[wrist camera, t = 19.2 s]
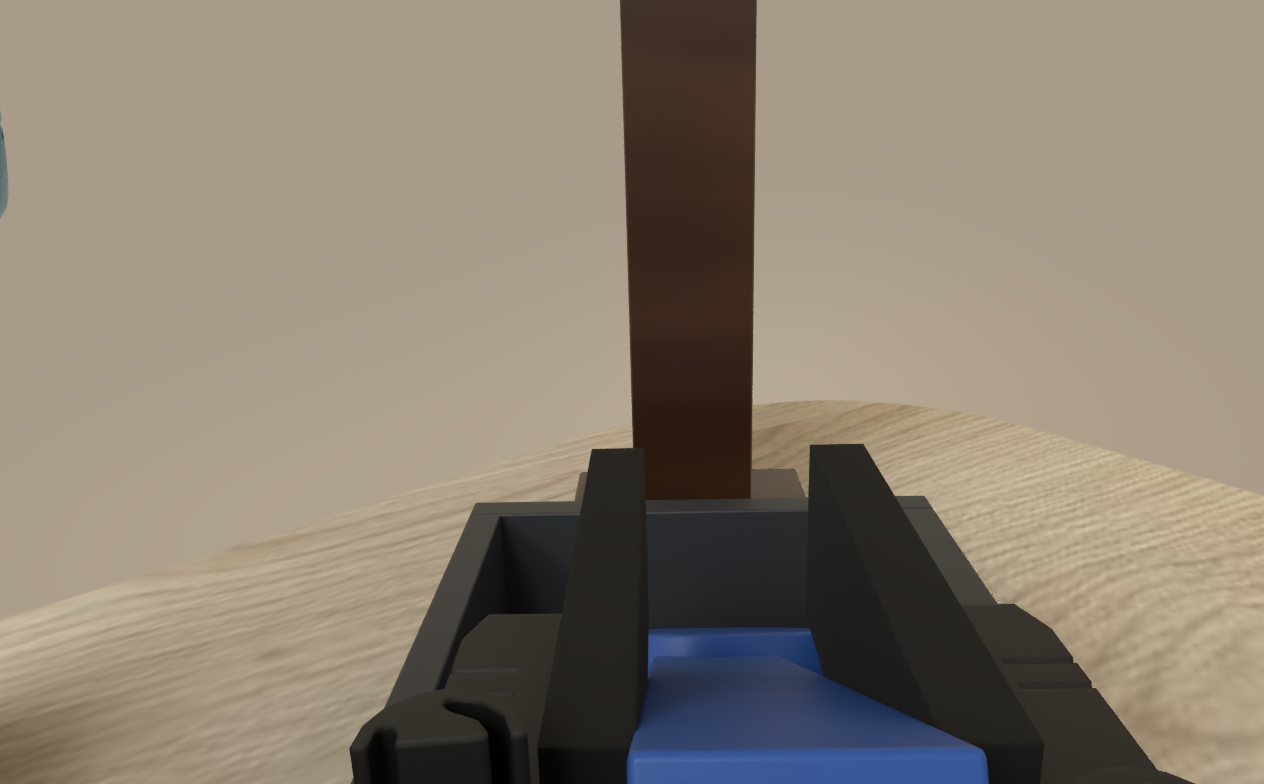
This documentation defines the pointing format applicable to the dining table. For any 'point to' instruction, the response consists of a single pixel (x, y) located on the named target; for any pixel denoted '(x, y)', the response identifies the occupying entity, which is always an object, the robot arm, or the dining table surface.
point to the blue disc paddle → (776, 719)
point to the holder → (677, 570)
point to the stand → (692, 247)
